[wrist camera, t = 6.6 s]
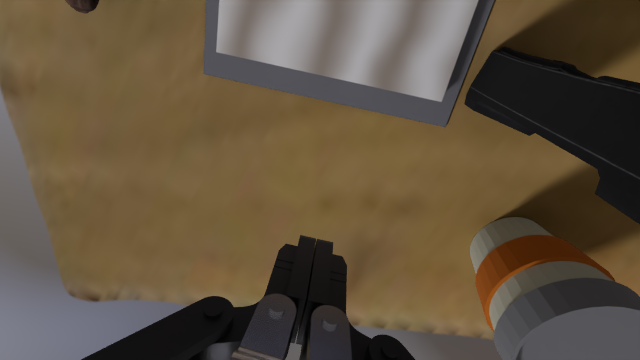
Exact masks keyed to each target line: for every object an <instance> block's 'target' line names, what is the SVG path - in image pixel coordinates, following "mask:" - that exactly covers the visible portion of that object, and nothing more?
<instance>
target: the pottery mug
mask: <svg viewBox="0 0 640 360" xmlns="http://www.w3.org/2000/svg"><path fill="white" fill-rule="evenodd" d="M66 2H67V3H68V4H69V5H70V6H71V7H72V8H74V9H75V10H76V11H78V12H82V13H88V12H90V11H93V10H94V9H95V8H96V7H97V5H98V2H99V0H66Z"/></svg>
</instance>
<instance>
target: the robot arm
mask: <svg viewBox="0 0 640 360" xmlns="http://www.w3.org/2000/svg"><path fill="white" fill-rule="evenodd" d="M315 243H316V245H315ZM332 252H333V242H329V241H324V240H320V239H317V242H316V239H315V238H311V237H306V236H302V235H300V239H299V243H298V246H294V245H290V244H285V245H284V246H283V247H282V248H281V249H280V250H279V252H278V255H277V258H276V261H275V265H274V268H273V271H272V274H271V277H270V280H269V283H268V286H267V289H266V292H265V295H264V297H263V298H262V299H261V300H260V301H259V302H257V303H256V304H254V305H251V306H246V307H233V305H232V304H231V302H230V301H229V300H227V299H225V298H223V297H219V296H211V297H206V298H204V299H201V300H199V301H197V302H195V303H193V304H191V305H189V306H187V307H185V308H183V309H181V310H180V311H177V312H175V313H173V314H171V315H169V316H167V317H166V318H163V319H161V320H159V321H157V322H155V323H153V324H152V325H149V326H147V327H146V328H143V329H141V330H140V331H138V332H135V333H133V334H131V335H129V336H128V337H126V338H123V339H121V340H120V341H117V342H115V343H113V344H111V345H109V346H107V347H106V348H103V349H101V350H100V351H97V352H96V353H93V354H91V355H89V356H87V357H85V358H83V359H82V360H285V358H286V357H287V354H288V350H289V346H290V343H295V339H296V335H297V332H298V336H297V342H296V344H301V345H302V347H301V354H300V358H299V360H415V359H414V358H413V356H412V355H411V354H410V353H409V352H408V350H407V349H406V348H405V347H404V346H403V345H402V344H401V343H400V342H399V341H398V340H397V339H395V338H393V337H391V336H388V335H377V336H375V337H373V338H372V339H371V338H369V337H367V336H365V335H364V334H362V333H360V332H359V331H357V330H356V329H355V328H354V327H353V326H352V325H351V324H350V322H349V320H348V318H347V316H346V282H347V276H346V275H347V265H346V263H345V261H344V259H343V257H342V256H338V255H334V254H332ZM298 328H299V330H298Z"/></svg>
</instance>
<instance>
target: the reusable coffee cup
mask: <svg viewBox="0 0 640 360" xmlns="http://www.w3.org/2000/svg"><path fill="white" fill-rule="evenodd" d="M470 256H471V259H472V262H473V266H474V269H475V272H476V287H477V291H478V294H479V297H480V301H481V304H482V307H483V311H484V314H485V317H486V320H487V323H488V325H489V326H490V328H491V329H492V330H493V331H494V342H495V346H496V349H497V351H498V352H499V354H500V356H501V357H502V359H503V360H640V297H639V296H638V295H637V294H636V293H635V292H634V291H632V290H631V289H629V288H628V287H626V286H624V285H622V284H619V283H617V282H615V280H614V278H613V277H612V275H611V274H610V273H609V272H608V271H607V270H606V269H604V268H603V267H602V266H600V265H599V264H598V263H596V262H595V261H593V260H592V259H591V258H589V257H588V256H587V255H585V254H584V253H583V252H581V251H580V250H578V249H577V248H576V247H574V246H573V245H572V244H570V243H569V242H567V241H565V240H563V239H561V238H558V237H554V236H553V235H551V234H550V233H549V232H547V231H546V230H545V229H543V228H542V227H541V226H539V225H538V224H537V223H535V222H534V221H532V220H529V219H526V218H522V217H508V218H503V219H499V220H496V221H494V222H492V223H490V224H488V225H486V226H485V227H483V228H482V229H481V230H480V231H479V232H478V233H477V234H476V236H475V237H474V239H473V241H472V243H471V247H470Z"/></svg>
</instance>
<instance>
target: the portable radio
mask: <svg viewBox="0 0 640 360" xmlns="http://www.w3.org/2000/svg"><path fill="white" fill-rule="evenodd" d="M465 105H466V106H468V107H469V108H471V109H472V110H474V111H476V112H478V113H480V114H483V115H485V116H487V117H489V118H491V119H494V120H496V121H498V122H500V123H502V124H505V125H507V126H509V127H511V128H513V129H516V130H518V131H520V132H522V133H524V134H527V135H529V136H530V135H532V134H534V133H536V134H538V135H540V136H541V137H543V138H545V139H547V140H548V141H550V142H552V143H554V144H555V145H557V146H559V147H560V148H562V149H564V150H566V151H567V152H569V153H571V154H573V155H574V156H576V157H578V158H579V159H581V160H583V161H585V162H586V163H588V164H590V165H592V166H593V167H595V168H597V169H598V173H599V176H600V181H599V184H598V186H597V189H596V192H595V194H596V195H598V196H599V197H601V198H602V199H603V200H605V201H606V202H608V203H609V204H611V205H612V206H614V207H615V208H617V209H618V210H620V211H621V212H622V213H624V214H625V215H627V216H628V217H630V218H631V219H633V220H634V221H636V222H637V223H639V224H640V83H637V82H632V81H628V80H623V79H618V78H613V77H609V76H601V77H598V78H595V77H591V76H589V75H587V74H585V73H583V72H581V71H579V70H577V69H576V67H575V66H574V65H571V64H568V63H565V62H562V61H556V60H553V61H552V60H548V59H544V58H540V57H536V56H532V55H528V54H525V53H521V52H518V51H515V50H512V49H510V48H507V47H502V48H501V49H500V50H499V51H495V50H494V51H493V52H491V54H490V56H489V57H488V59H487V60H486V62H485V64H484V65H483V67H482V68H481V70H480V72H479V73H478V75H477V76H476V78H475V79H474V81H473V83H472V84H471V86H470V88H469V91H468V93H467V95H466V100H465Z"/></svg>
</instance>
